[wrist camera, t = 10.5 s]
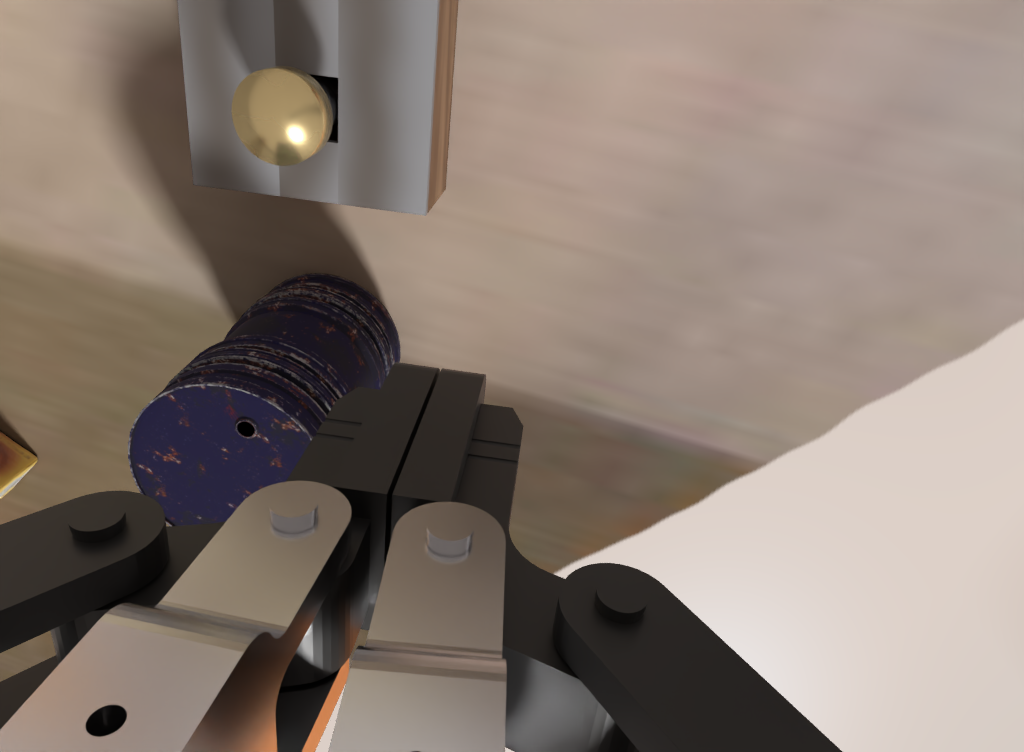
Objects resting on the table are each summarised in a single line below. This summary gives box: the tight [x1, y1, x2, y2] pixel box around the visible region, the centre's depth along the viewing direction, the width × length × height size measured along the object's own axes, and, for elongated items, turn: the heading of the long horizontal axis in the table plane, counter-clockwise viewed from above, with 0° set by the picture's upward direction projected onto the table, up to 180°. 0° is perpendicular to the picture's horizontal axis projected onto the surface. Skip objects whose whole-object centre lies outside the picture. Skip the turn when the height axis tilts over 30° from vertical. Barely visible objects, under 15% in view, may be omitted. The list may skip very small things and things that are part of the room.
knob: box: [232, 66, 338, 166], centre depth 36 cm, size 4×4×9 cm
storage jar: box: [128, 274, 400, 526], centre depth 41 cm, size 10×10×15 cm
